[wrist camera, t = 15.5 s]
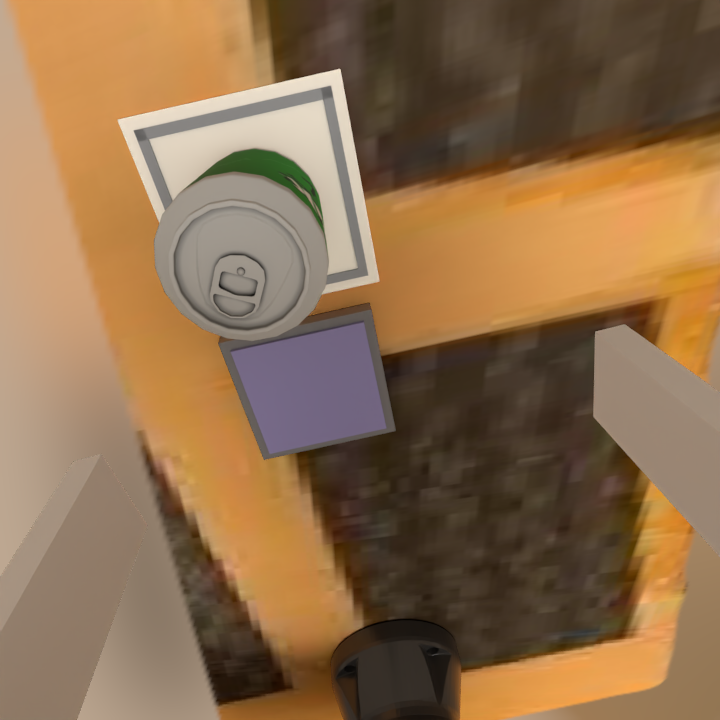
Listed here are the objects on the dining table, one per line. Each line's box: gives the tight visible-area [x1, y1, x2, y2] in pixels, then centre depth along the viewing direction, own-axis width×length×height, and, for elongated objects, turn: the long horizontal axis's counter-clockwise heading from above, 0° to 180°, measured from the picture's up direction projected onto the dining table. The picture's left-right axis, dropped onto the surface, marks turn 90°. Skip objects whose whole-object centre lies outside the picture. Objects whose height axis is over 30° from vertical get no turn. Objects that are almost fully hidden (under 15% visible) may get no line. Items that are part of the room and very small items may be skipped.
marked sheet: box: [118, 69, 380, 294], centre depth 31 cm, size 13×13×1 cm
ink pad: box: [218, 303, 396, 460], centre depth 37 cm, size 11×11×2 cm
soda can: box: [154, 148, 329, 341], centre depth 25 cm, size 8×8×12 cm
